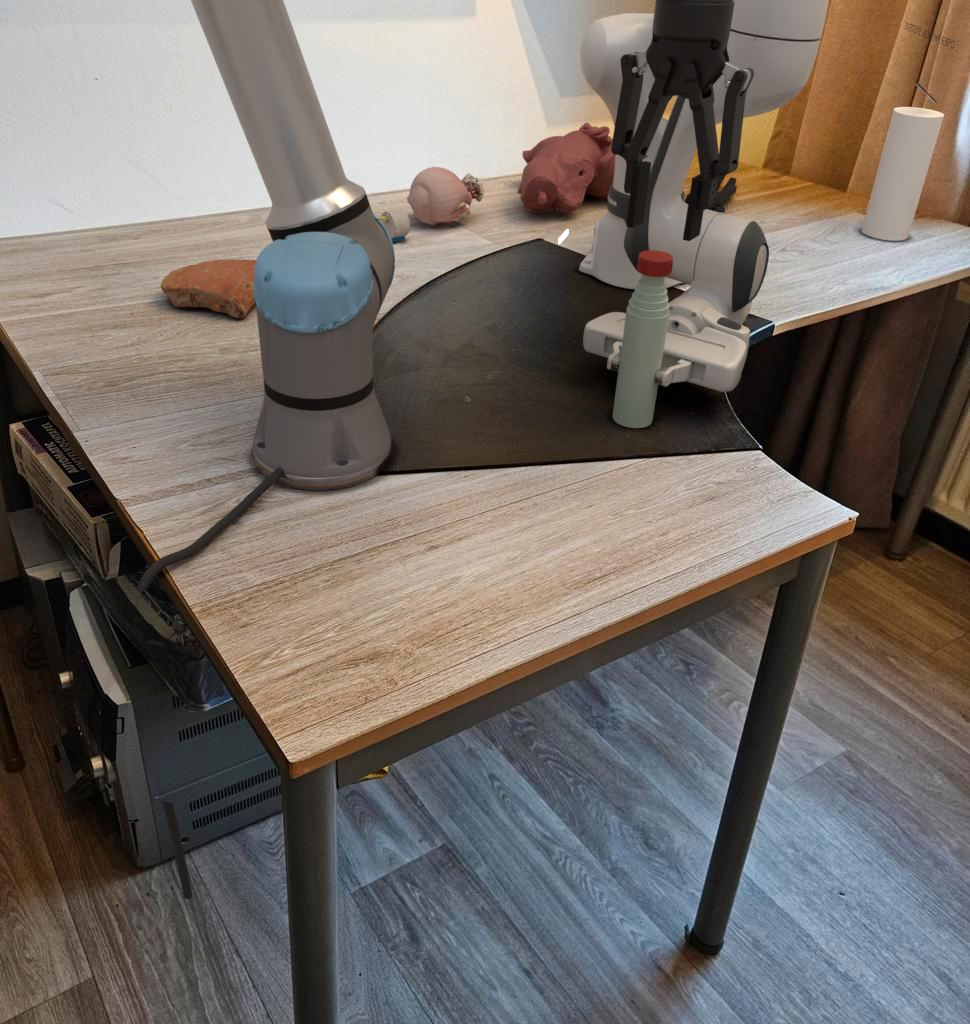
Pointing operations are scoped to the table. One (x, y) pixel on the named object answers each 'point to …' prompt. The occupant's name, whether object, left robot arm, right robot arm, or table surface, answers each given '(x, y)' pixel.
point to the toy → (442, 195)
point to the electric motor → (396, 223)
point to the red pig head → (567, 170)
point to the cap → (655, 263)
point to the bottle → (641, 353)
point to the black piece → (721, 194)
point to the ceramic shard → (213, 286)
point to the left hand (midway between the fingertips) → (662, 230)
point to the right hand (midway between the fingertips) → (636, 372)
